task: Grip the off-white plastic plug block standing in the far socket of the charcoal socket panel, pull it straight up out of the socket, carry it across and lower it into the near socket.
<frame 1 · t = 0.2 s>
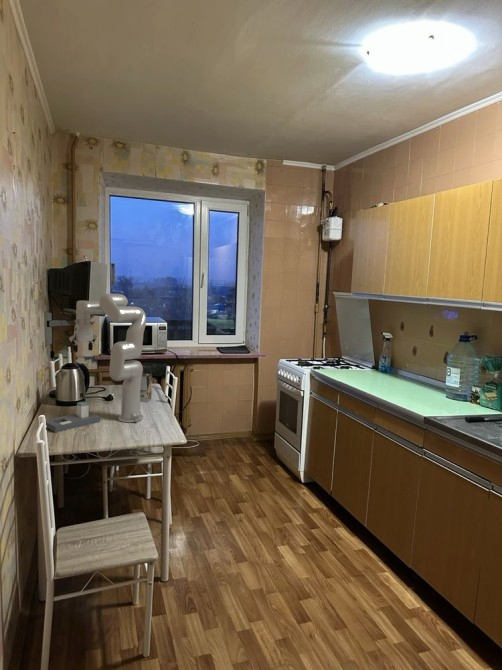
hand: (83, 351, 259), 31 cm above the table, tool pointing down, fingers open, 9 cm apart
white plug block: (82, 421, 228), resting in charcoal socket panel
charcoal socket panel: (71, 424, 224), on the table
coffee box: (144, 400, 275), on the table
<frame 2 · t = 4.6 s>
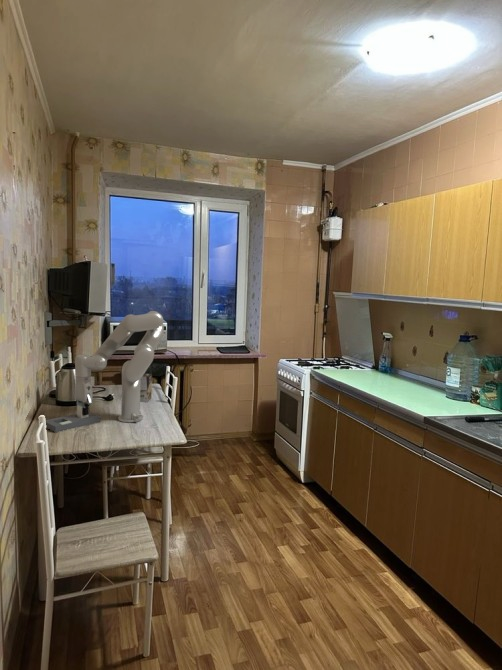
hand: (82, 413, 228), 4 cm above the table, tool pointing down, fingers closed on white plug block, 4 cm apart
white plug block: (82, 421, 228), resting in charcoal socket panel, touching gripper
everything else where it was.
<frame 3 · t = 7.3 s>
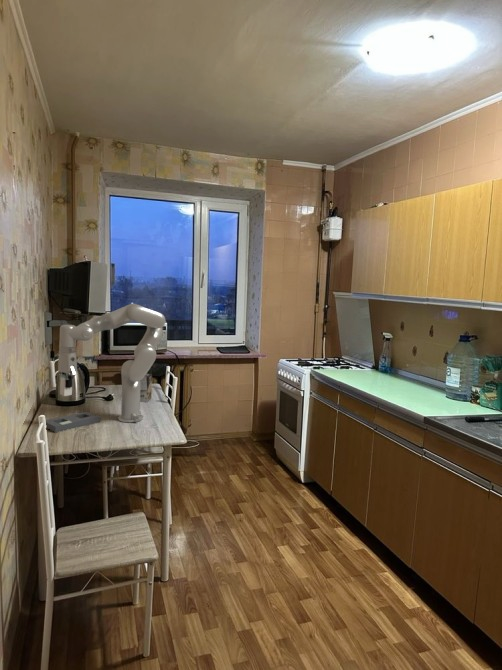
hand: (66, 386, 219), 20 cm above the table, tool pointing down, fingers closed on white plug block, 4 cm apart
white plug block: (65, 394, 220), point 16 cm above the table, touching gripper
everything else where it was.
when the fingers open (6 cm above the table, at t = 10.5 s): white plug block drops 2 cm, resting in charcoal socket panel.
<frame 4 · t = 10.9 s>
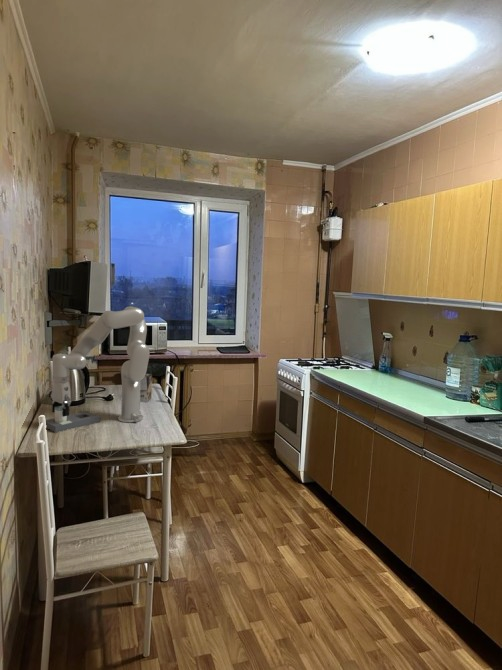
hand: (60, 413, 218), 7 cm above the table, tool pointing down, fingers open, 8 cm apart
white plug block: (60, 426, 219), resting in charcoal socket panel
everything else where it was.
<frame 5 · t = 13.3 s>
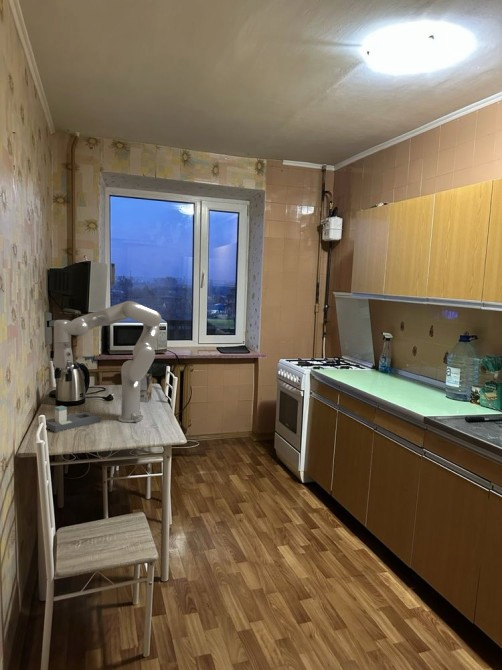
hand: (63, 379, 218), 23 cm above the table, tool pointing down, fingers open, 9 cm apart
nothing on the table moved.
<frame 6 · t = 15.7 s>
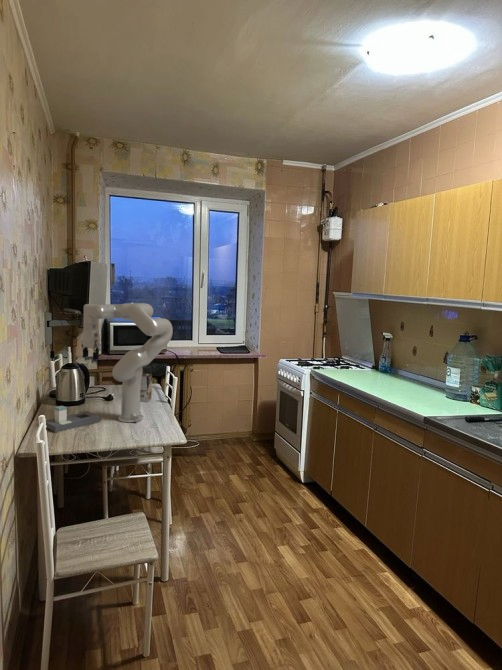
hand: (90, 358, 242), 30 cm above the table, tool pointing down, fingers open, 9 cm apart
nothing on the table moved.
at the end: white plug block 0.0 cm from the target spot on the charcoal socket panel, point 0.0 cm above the charcoal socket panel's base; white plug block tilted 0°; the gripper is holding nothing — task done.
